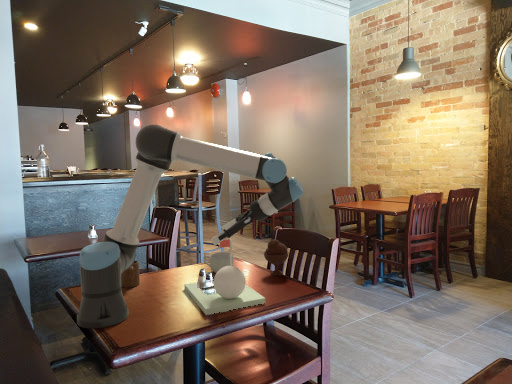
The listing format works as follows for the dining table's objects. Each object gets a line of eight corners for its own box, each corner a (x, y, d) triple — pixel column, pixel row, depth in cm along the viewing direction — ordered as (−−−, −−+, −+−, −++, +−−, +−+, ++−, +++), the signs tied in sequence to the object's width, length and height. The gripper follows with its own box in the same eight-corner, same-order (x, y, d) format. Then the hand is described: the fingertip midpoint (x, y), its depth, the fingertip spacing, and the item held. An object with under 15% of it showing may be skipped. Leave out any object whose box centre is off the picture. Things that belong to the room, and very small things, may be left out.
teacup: (238, 270, 170) (237, 252, 169) (226, 276, 160) (225, 258, 160) (212, 267, 176) (211, 250, 175) (199, 273, 166) (198, 255, 165)
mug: (143, 289, 146) (142, 265, 145) (122, 292, 143) (121, 268, 142) (138, 281, 157) (137, 259, 156) (119, 284, 153) (117, 261, 153)
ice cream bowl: (263, 277, 158) (262, 242, 157) (266, 270, 169) (265, 237, 168) (288, 277, 156) (287, 242, 155) (289, 270, 167) (288, 237, 166)
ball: (238, 305, 121) (237, 271, 121) (208, 301, 125) (207, 269, 124) (250, 294, 132) (250, 263, 131) (222, 291, 135) (221, 261, 135)
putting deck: (265, 303, 127) (264, 251, 126) (206, 315, 119) (204, 259, 118) (235, 281, 153) (233, 238, 152) (184, 289, 145) (182, 243, 143)
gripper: (263, 227, 123) (213, 257, 129) (275, 206, 146) (232, 232, 153) (250, 208, 122) (201, 239, 129) (264, 190, 146) (222, 217, 152)
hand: (218, 235), depth 141 cm, fingers open, 13 cm apart
